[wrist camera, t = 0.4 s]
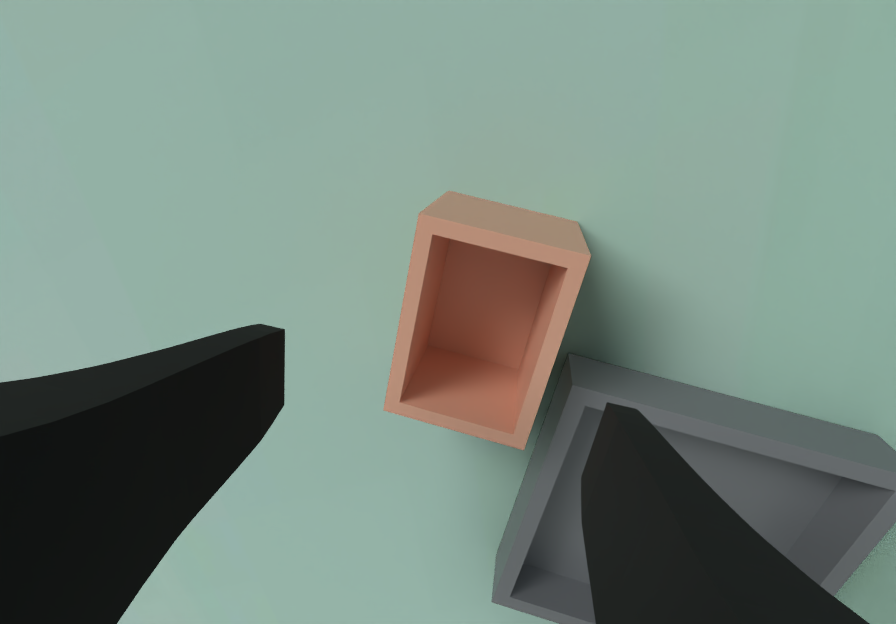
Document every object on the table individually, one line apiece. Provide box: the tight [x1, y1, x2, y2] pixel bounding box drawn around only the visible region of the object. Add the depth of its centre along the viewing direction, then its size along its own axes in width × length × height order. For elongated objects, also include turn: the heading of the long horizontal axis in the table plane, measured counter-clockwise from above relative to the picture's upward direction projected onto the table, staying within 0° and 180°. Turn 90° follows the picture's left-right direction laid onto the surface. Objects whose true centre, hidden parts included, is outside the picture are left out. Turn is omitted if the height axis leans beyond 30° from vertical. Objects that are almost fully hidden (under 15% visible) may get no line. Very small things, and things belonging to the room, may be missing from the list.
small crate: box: [384, 191, 591, 450], centre depth 17 cm, size 5×7×5 cm
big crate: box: [492, 353, 896, 624], centre depth 20 cm, size 12×12×3 cm
